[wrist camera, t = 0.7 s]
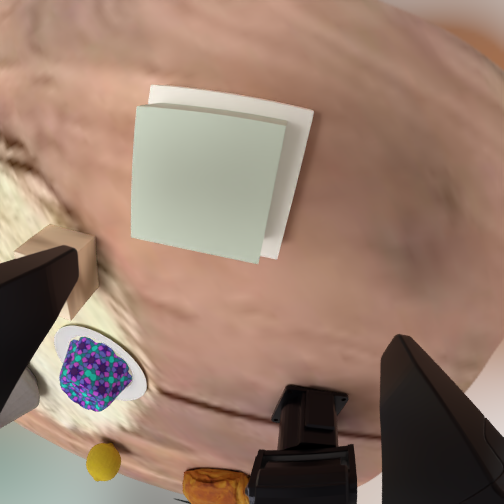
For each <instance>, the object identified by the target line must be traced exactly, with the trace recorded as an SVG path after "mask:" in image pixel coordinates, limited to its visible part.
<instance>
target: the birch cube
mask: <svg viewBox="0 0 504 504" xmlns="http://www.w3.org/2000/svg"><path fill="white" fill-rule="evenodd" d="M61 245H67V246H70V247H73V248H75V249H76V250H77V252H78V263H79V278H78V281H77V283H76V285H75V286H74V288H73V290H72V292H71V294H70V295H69V297H68V299H67V301H66V303H65V304H64V306H63V308H62V310H61V312H60V314H59V317H61V318H64V319H67V320H69V321H71V320H72V319H73V318H74V317H75V315H76V314H77V313H78V312H79V310H80V309H81V308H82V307H83V305H84V304H85V303H86V302H87V300H88V299H89V298H90V297H91V295H92V294H93V293H94V292H95V291H96V289H97V288H98V287H99V281H98V269H97V256H96V240H95V236H93V235H89V234H85V233H81V232H78V231H74V230H70V229H66V228H62V227H58V226H54V225H51V224H49V225H48V226H46V227H45V228H44V229H42V230H41V231H40V232H38V233H37V234H36V235H34V236H33V237H32V238H30V239H29V240H28V241H26V242H25V243H24V244H22V245H21V246H20V247H19V248H17V249H16V250H15V251H14V255H15V259H17V258H20V257H23V256H27V255H30V254H33V253H37V252H40V251H44V250H47V249H51V248H54V247H58V246H61Z"/></svg>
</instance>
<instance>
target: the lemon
mask: <svg viewBox="0 0 504 504" xmlns="http://www.w3.org/2000/svg"><path fill="white" fill-rule="evenodd" d="M120 465H121V457H120V454H119V452H118V451H117V450H116V449H115V447H114V445H113V444H112V443H107V444H105V443H100V444H97V445H95V446H94V447H93V448H92V449H91V450H90V452H89V454H88V456H87V461H86V466H87V470H88V472H89V473H90V475H91V476H92V477H93V478H94V480H95V481H108V480H111V479H112V478H114V476H115V475H116V474H117V472H118V471H119V468H120Z"/></svg>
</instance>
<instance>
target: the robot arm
mask: <svg viewBox="0 0 504 504" xmlns="http://www.w3.org/2000/svg"><path fill="white" fill-rule="evenodd" d="M78 278H79V263H78V252H77V250H76V249H75V248H73V247H70V246H67V245H61V246H58V247H54V248H51V249H47V250H44V251H40V252H37V253H33V254H30V255H27V256H23V257H20V258H17V259H13V260H10V261H7V262H4V263H0V413H1V412H2V410H3V408H4V406H5V404H6V402H7V400H8V398H9V397H10V395H11V393H12V391H13V389H14V388H15V386H16V384H17V382H18V381H19V379H20V377H21V375H22V374H23V372H24V370H25V369H26V367H27V365H28V364H29V362H30V360H31V359H32V357H33V356H34V354H35V352H36V351H37V349H38V348H39V346H40V344H41V343H42V341H43V340H44V338H45V337H46V335H47V333H48V332H49V330H50V329H51V327H52V326H53V324H54V323H55V321H56V319H57V317H58V316H59V314H60V312H61V310H62V308H63V306H64V304H65V303H66V301H67V299H68V297H69V295H70V294H71V292H72V290H73V288H74V286H75V285H76V283H77V281H78ZM348 399H349V398H348V395H347V394H343V393H336V392H328V391H321V390H314V389H308V388H301V387H295V386H287V387H286V388H285V389H284V392H283V394H282V396H281V398H280V400H279V402H278V404H277V406H276V409H275V411H274V413H273V415H272V419H271V420H272V421H273V422H276V423H280V426H279V437H278V449H277V450H259V451H258V455H257V456H256V458H255V461H254V465H253V469H252V472H251V476H250V479H249V482H248V484H247V486H246V488H245V494H246V495H247V496H248V497H249V504H357V474H356V464H355V454H354V445H353V444H350V445H348V446H340V447H338V431H337V415H338V414H339V412H340V411H341V410H342V408H343V407H344V405H345V404H346V403H347V401H348ZM380 424H381V445H382V504H504V437H503V436H502V435H501V434H500V433H499V432H498V431H497V430H496V429H495V427H494V426H493V425H492V424H491V423H490V422H489V420H488V419H487V418H484V415H483V414H482V413H481V412H480V410H479V409H478V408H477V407H476V406H475V405H474V404H473V403H472V402H471V400H470V399H469V398H468V397H467V396H466V395H465V394H464V393H463V392H462V390H461V389H460V388H459V387H458V386H457V385H456V384H455V383H454V382H453V381H452V380H451V379H450V377H449V376H448V375H447V374H446V373H445V372H444V371H443V370H442V369H441V368H440V367H439V366H438V365H437V364H436V363H435V362H434V361H433V359H432V358H431V357H430V356H429V355H428V354H427V353H426V352H425V351H424V350H423V349H422V348H421V347H420V346H419V345H418V344H417V343H416V342H415V341H414V340H413V339H412V338H411V337H410V336H406V335H401V334H397V335H396V336H395V337H394V338H393V339H392V341H391V343H390V344H389V346H388V347H387V349H386V350H385V352H384V353H383V355H382V358H381V375H380Z"/></svg>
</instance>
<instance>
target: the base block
mask: <svg viewBox="0 0 504 504" xmlns="http://www.w3.org/2000/svg"><path fill="white" fill-rule="evenodd" d="M155 103H171V104H181V105H191V106H200V107H208V108H216V109H223V110H230V111H236V112H243V113H249V114H255V115H261V116H266V117H272V118H277V119H282V120H287V125H286V130H285V135H284V140H283V145H282V150H281V155H280V160H279V165H278V170H277V175H276V180H275V185H274V190H273V195H272V200H271V205H270V210H269V214H268V219H267V224H266V229H265V234H264V239H263V244H262V249H261V253H260V256H263V257H267V258H272V259H276V260H277V258H278V254H279V250H280V246H281V243H282V239H283V235H284V231H285V227H286V223H287V220H288V216H289V212H290V208H291V204H292V200H293V196H294V192H295V188H296V184H297V180H298V176H299V172H300V168H301V164H302V160H303V156H304V152H305V148H306V144H307V139H308V135H309V131H310V127H311V123H312V118H313V114H314V111H313V110H311V109H308V108H304V107H299V106H295V105H291V104H286V103H282V102H277V101H272V100H267V99H262V98H257V97H252V96H246V95H241V94H235V93H228V92H222V91H215V90H208V89H200V88H192V87H184V86H174V85H151V88H150V95H149V102H148V104H155Z"/></svg>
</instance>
